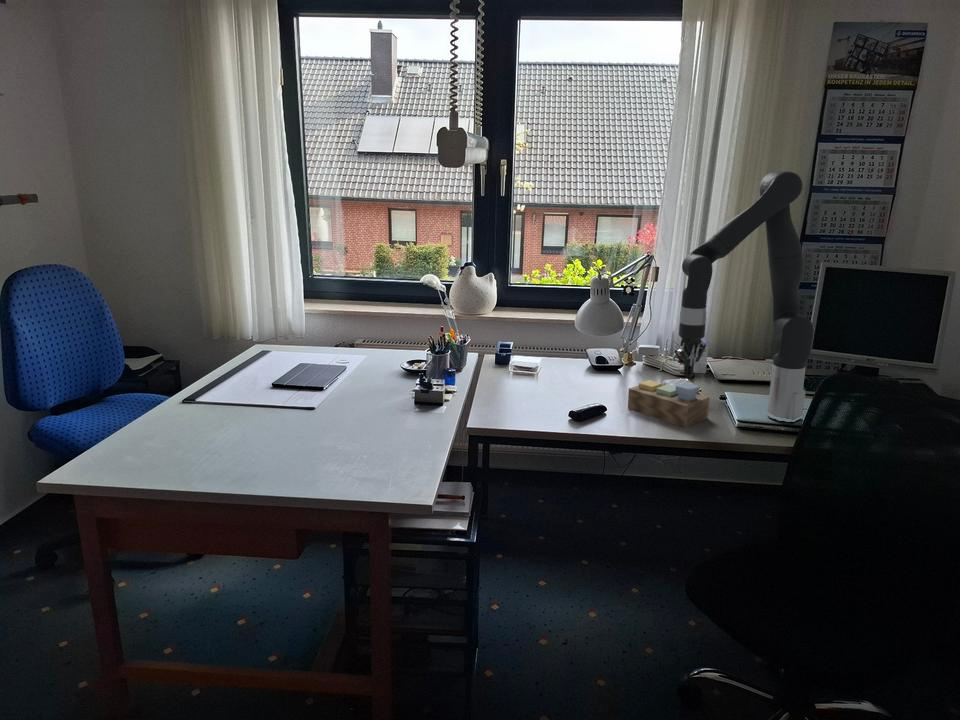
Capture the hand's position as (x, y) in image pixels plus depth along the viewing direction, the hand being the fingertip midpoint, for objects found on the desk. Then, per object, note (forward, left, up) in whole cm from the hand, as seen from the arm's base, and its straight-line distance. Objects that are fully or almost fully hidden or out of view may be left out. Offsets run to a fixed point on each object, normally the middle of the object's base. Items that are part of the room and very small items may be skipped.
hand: (688, 376), depth 204 cm
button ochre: (+14, 0, -13) cm, 19 cm away
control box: (+7, 0, -14) cm, 16 cm away
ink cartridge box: (+29, -46, -14) cm, 56 cm away
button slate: (0, 0, -10) cm, 10 cm away
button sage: (+7, 0, -13) cm, 14 cm away
